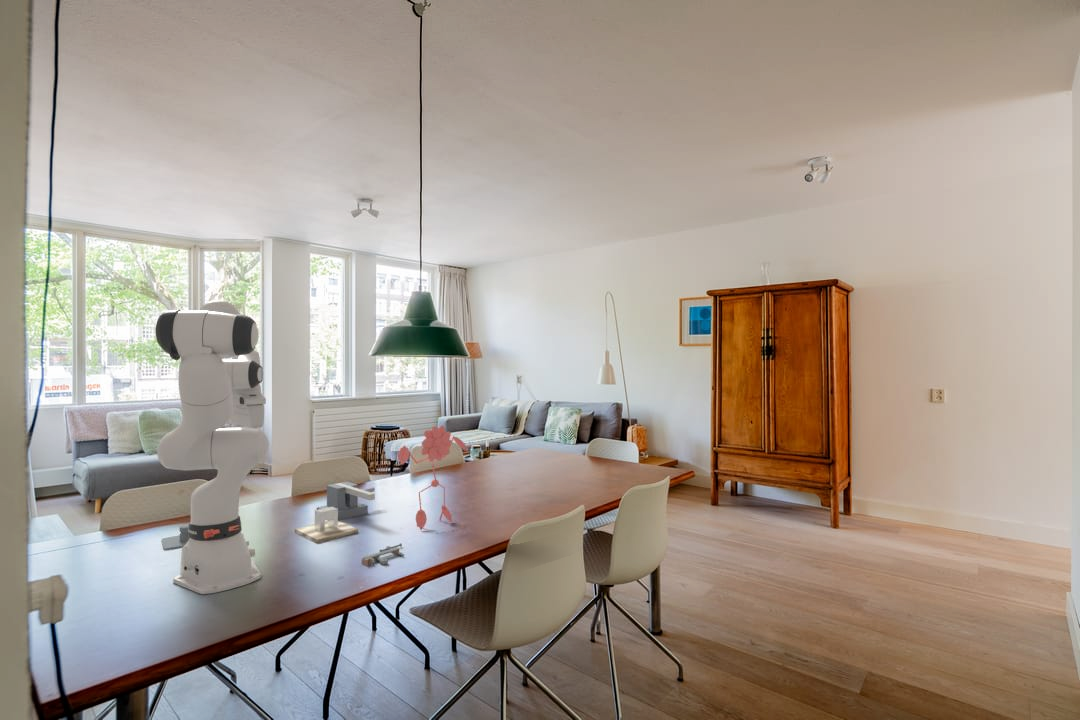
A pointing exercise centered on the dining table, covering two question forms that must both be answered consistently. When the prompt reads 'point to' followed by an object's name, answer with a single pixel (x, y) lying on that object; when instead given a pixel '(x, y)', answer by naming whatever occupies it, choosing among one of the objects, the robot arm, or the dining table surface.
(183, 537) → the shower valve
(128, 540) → the dining table surface
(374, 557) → the clamp
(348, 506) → the grey machinist vise
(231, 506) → the robot arm
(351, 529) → the ash board
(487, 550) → the dining table surface
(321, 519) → the white notched block
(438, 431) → the pink stick figure
